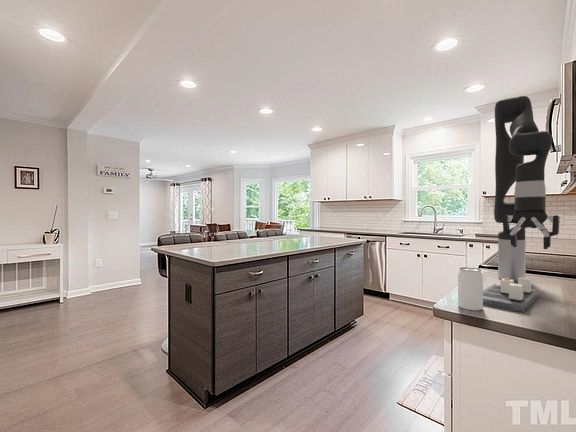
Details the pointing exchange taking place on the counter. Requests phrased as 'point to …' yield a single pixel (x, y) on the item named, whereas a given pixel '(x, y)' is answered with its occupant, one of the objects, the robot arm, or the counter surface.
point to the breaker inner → (525, 284)
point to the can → (470, 289)
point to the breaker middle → (506, 285)
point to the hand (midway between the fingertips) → (529, 247)
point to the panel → (508, 299)
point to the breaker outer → (515, 291)
